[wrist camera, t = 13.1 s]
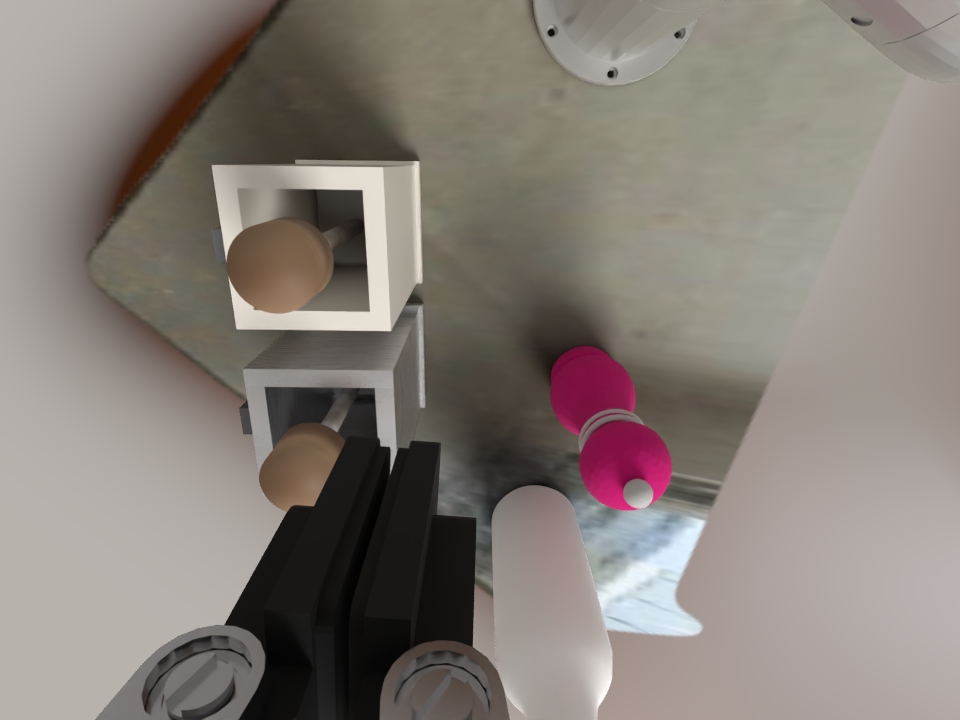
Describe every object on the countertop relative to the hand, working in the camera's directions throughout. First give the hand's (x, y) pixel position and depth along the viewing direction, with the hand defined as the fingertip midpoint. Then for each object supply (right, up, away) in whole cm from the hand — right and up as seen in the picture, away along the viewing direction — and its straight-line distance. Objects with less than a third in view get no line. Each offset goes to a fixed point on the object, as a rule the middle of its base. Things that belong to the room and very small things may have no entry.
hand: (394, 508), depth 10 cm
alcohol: (+7, -14, +47) cm, 49 cm away
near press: (-8, +15, +36) cm, 40 cm away
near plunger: (-8, +14, +34) cm, 38 cm away
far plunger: (-9, +3, +39) cm, 40 cm away
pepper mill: (+11, +1, +41) cm, 43 cm away
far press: (-9, +3, +40) cm, 41 cm away
